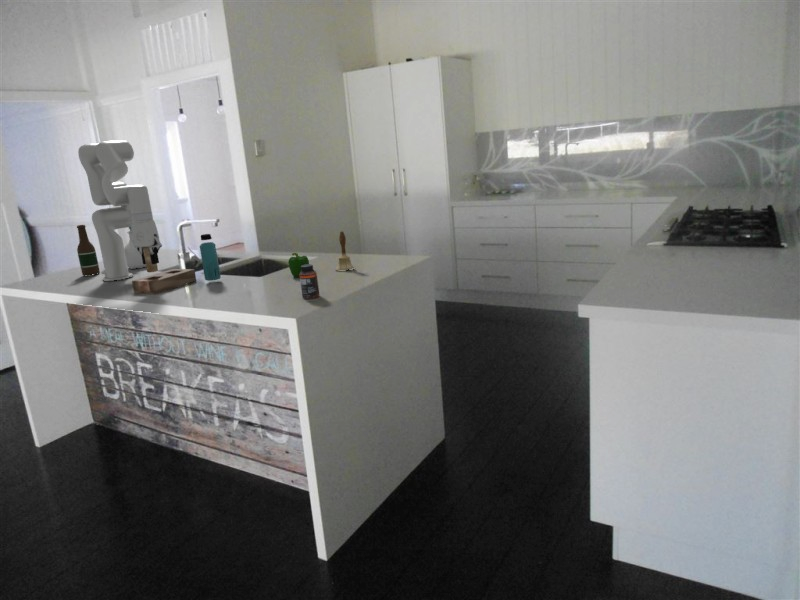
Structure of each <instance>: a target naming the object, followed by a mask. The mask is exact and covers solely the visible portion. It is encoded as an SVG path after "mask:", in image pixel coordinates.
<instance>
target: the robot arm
mask: <svg viewBox="0 0 800 600" xmlns="http://www.w3.org/2000/svg"><path fill="white" fill-rule="evenodd" d="M77 152H78V153H77V154H78V159H79V162H80V164H81V166H82V167H83V169H84V171H85V174H86V176H87V182H88V186H89V191H90V197H91V199H92V202H93V204H94V205H96V206H100V207H104V206H114V207H107V208H100V209H96V210H95V211H93V213H92V215H91V221H92V224H93V226H94V229H95V232H96V236H97V240H98V242H99V247H100V253H101V258H102V262H103V267H104V268H103V270H101V271H100V274H101V275H104V276H103V278H102V281H103V280H104V282H115V281H114V280H117V281H122V280H121V279H123V280H126V279H125V278H128V279H130V278H129V277H131V278H133V277H134V273H132V272H129V267H128V265H127V260H126V255H125V250H124V248H125V246H124V242H123V241H124V240H123V238H122V237H121V235H120V234H119V233H118V232H117V231H115V230H119V229H126V228H129V227H131V231H132V240H133V245H134V247H135V248H136V249H137V250H138V251H139V252H140V254H142V255H141V256H142V261H143V264H146V262H145V257H144V252H143V247H149V249H150V252H151V254H150V257H151V262H152V264H157V265H158V264H159V263H160V261H159V255H158V254H159V250H160V249H161V248H162V246H163V245H162V243H161V241H160V236H159V231H158V228H157V225H156V222H155V219H154V216H153V212H152V207H151V201H150V194H149V190H148V187H147V186H146V185H144V184H131V185H130V184H129V185H128V184H127V183H125V182H123V181H119V180H122V179H123V178H124V177H125V176H126V175H127V173H128V171H129V166H128V164H127V163H126V162H130V161H132V160H133V159H134V156H135V151H134V148H133V146H132V144H131V143H130V142H129V141H127V140H125V139H123V140H106V141H105V140H103V141H101V142H98V143H96V142H95V143H94V142H93V143H87V144H86V143H85V144H83V145H81V146H80V147H78V151H77ZM152 245H153V246H152ZM153 247H154V249H153ZM132 276H133V277H132Z"/></svg>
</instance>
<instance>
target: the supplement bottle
mask: <svg viewBox="0 0 800 600" xmlns="http://www.w3.org/2000/svg"><path fill="white" fill-rule="evenodd" d="M301 270H302V271H301V272H300V274H299V275H300V277H299V282H300V289H301V297H302V299H304V298H305V300H311V299H312V298H313V299H316V298H319V296H320V288H319V281H318V273H317V270H314V265H313V264H310V263H309V264H306V265H302V266H301Z"/></svg>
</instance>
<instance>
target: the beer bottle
mask: <svg viewBox="0 0 800 600" xmlns="http://www.w3.org/2000/svg"><path fill="white" fill-rule="evenodd" d="M76 228H77V232H78V242H79V243H78V245H77V248H76V251H77V257H78V261H79V265H80V270H81V274H82V276H83V275H92V274H97V273H100V274H101V271H100V266H99V261H98V256H97V252H96V248H95V245H93V243H92V242H90V239H89V236H88V234H87V233H88V232H87V229H86V224H78V225H77V226H76Z"/></svg>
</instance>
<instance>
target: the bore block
mask: <svg viewBox="0 0 800 600" xmlns="http://www.w3.org/2000/svg"><path fill="white" fill-rule="evenodd" d="M193 281H194V282H197V276H196V270H195V269H194V268H189V269H188V268H171V269H168V270H165V271H162V272H161V271H160V272H159V273H155V274H151V275H148V276H144V277H140V278H137V279H135V280H131V284H132V289H133V293H134V294H144V295H158V294H161V293H165V292H167V291H170V290H173V289H176V288H178V286H179V287H182V286H185V285H187V284H186V283H188V284H191V283H194V282H193ZM190 282H191V283H190ZM184 284H185V285H184ZM181 285H182V286H181ZM175 287H176V288H175ZM172 288H173V289H172Z"/></svg>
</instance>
